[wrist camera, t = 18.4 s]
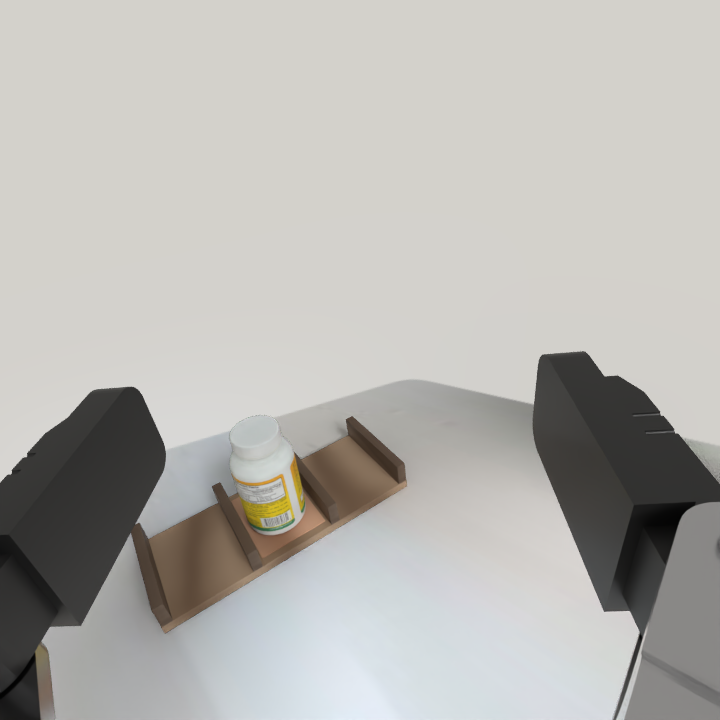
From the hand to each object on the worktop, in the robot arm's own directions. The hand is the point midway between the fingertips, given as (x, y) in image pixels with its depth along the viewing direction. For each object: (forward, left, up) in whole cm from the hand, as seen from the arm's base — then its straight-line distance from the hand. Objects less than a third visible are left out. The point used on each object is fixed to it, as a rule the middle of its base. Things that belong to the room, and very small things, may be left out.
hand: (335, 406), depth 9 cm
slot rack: (-3, -23, -28) cm, 37 cm away
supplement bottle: (-3, -23, -27) cm, 36 cm away
